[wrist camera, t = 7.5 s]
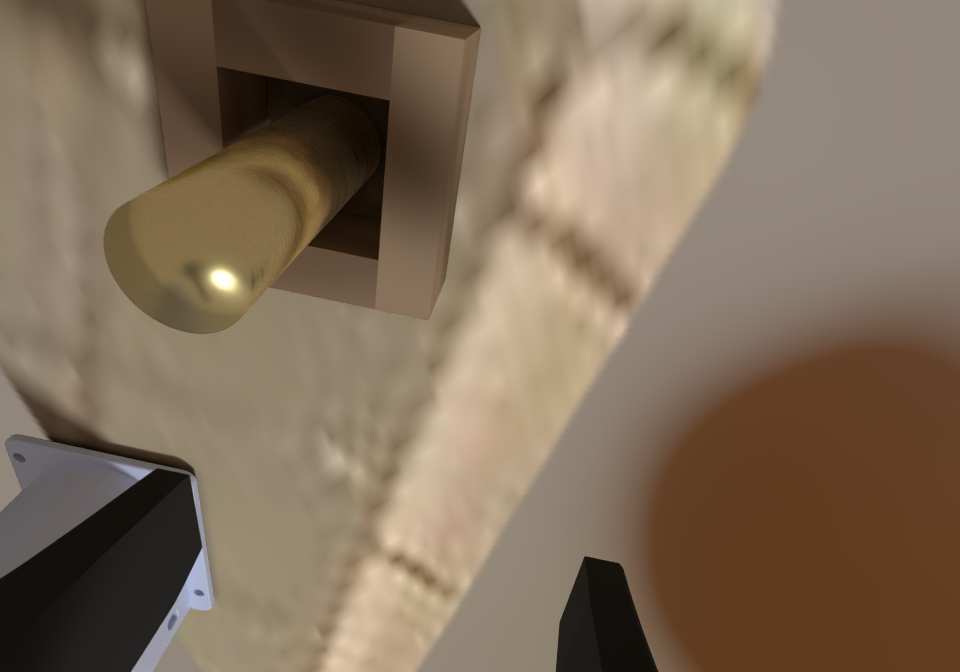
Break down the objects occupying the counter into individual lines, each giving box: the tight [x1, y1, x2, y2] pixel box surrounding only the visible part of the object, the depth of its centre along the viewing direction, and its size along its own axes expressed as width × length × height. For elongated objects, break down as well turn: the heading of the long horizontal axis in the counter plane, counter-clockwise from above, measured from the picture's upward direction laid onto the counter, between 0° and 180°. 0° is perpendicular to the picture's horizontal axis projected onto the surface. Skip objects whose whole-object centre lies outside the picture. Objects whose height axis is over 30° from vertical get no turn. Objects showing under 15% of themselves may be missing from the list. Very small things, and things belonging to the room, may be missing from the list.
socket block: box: [145, 0, 481, 320], centre depth 16 cm, size 7×7×2 cm
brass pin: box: [104, 95, 381, 334], centre depth 13 cm, size 2×2×8 cm
